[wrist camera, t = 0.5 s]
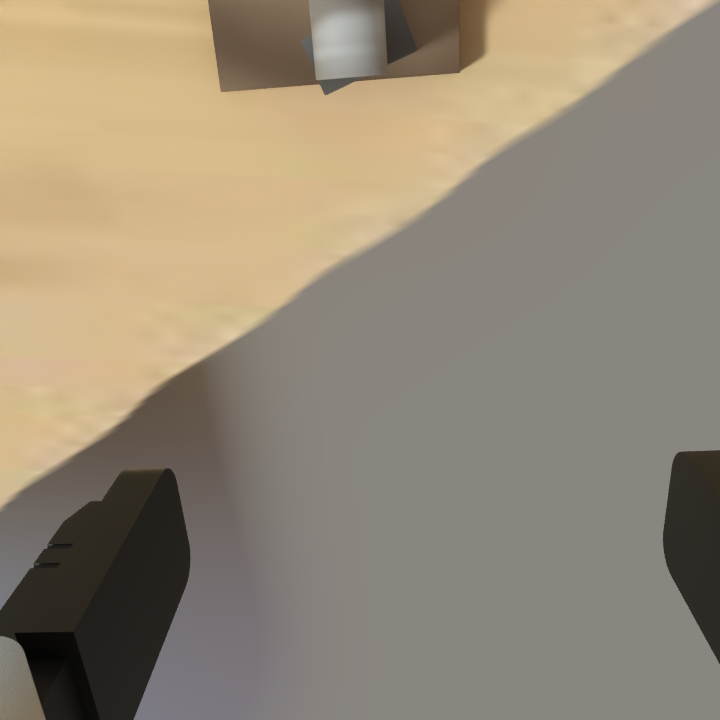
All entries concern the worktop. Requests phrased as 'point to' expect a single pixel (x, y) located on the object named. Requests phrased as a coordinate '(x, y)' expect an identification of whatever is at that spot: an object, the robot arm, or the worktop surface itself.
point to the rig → (331, 41)
